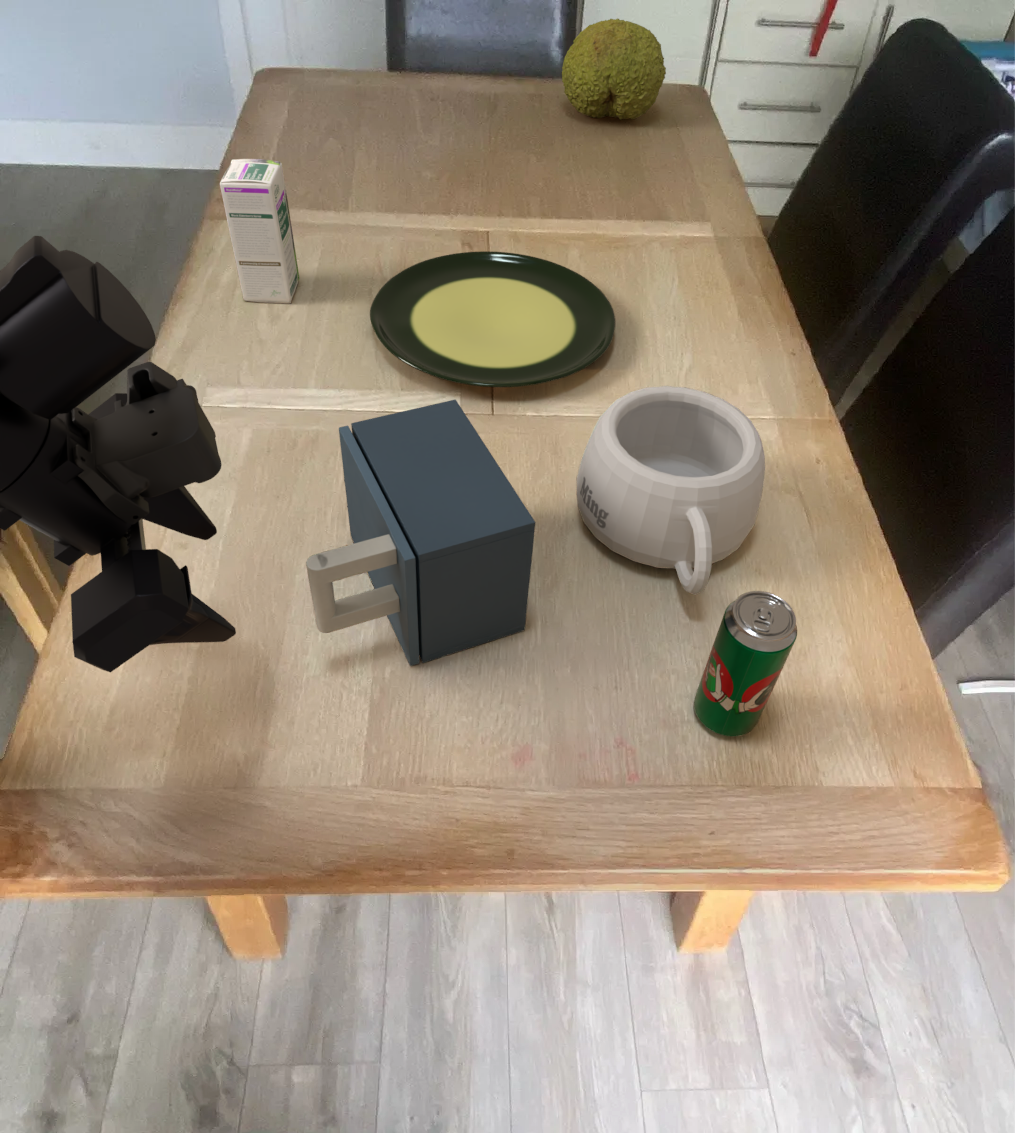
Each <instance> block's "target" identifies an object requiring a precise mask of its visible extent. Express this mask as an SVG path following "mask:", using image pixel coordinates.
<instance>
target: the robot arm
mask: <svg viewBox="0 0 1015 1133" xmlns="http://www.w3.org/2000/svg"><path fill="white" fill-rule="evenodd" d="M156 337H157V336H156V334H155V331H154V328H153V325H152V323H151V321H150V319H149V318H148V315H147V314H146V313H145V311H144V309H143V308H142V307H141V305H140V304H139V302H138V301H137V299H135V297H134V296H133V295H132V293H131V292H130V291H129V289H127V287H126V286H125V285H124V284H123V283H122V282H121V281H120V280H119V279H118V278H117V277H116V276H115V275H114V274H113V272H111V271H110V270H109V269H108V268H106V267H105V266H104V265H103V264H102V263H100V262H99V261H96V262H93V261H91V260H90V259H89V258H87V257H85V256H84V255H82V254H79V253H77V252H75V251H73V250H68V249H64V250H58V249H57V248H56V247H55V246H54V245H53V244H52V243H51V242H49V241H48V240H47V239H46V238H44V237H43V236H41V235H33V236H32V237H31V238H30V239H29V240H27V241H26V242H25V243H24V244H23V245H21V246H20V247H19V248H18V249H17V250H16V251H15V252H14V254H13V256H11V259H10V260H9V262H8V263H7V264H6V265H5V266H4V267H3V268H1V269H0V530H2V531H4V532H5V531H7V530H8V529H10V528H11V527H12V526H13V525H15V524H16V523H17V522H18V521H20V522H22V523H24V524H25V525H27V526H29V527H31V528H32V529H34V530H36V531H37V532H39V533H41V534H43V535H45V536H47V537H49V538H50V539H52V540H53V558H54V559H55V560H57V561H59V562H61V563H63V564H64V565H66V566H68V567H70V566H72V565H73V564H74V563H75V562H77V561H78V560H79V559H81V558H82V557H84V556H85V555H86V554H87V555H88V556H91V557H93V556H96V555H99V554H100V564H101V565H100V566H101V572H99V573H98V574H96V575H95V576H93V577H92V578H91V579H90V580H88V581H87V582H86V583H84V584H83V585H81V586H80V587H78V589H76V590H75V591H73V592H72V593H71V594H70V606H71V607H70V608H71V633H72V634H71V635H72V636H71V637H72V648H73V657H74V658H76V659H78V660H80V661H82V662H84V663H86V664H89V665H91V666H93V667H95V668H97V669H99V670H102V671H105V672H108V673H110V674H111V673H112V672H113V671H115V670H117V669H118V668H119V667H120V666H122V665H123V664H125V663H126V662H128V661H129V660H131V659H132V658H133V657H135V656H136V655H137V654H139V653H140V652H142V651H143V650H145V649H146V648H147V647H150V646H155V645H162V644H163V645H164V644H189V643H191V644H192V643H193V644H197V643H198V644H199V643H225V642H227V641H228V640H230V639H231V638H233V637H234V636H235V635H236V634H237V630H236V627H235V626H234V625H232V623H230V622H229V621H228V620H227V619H226V618H225V617H223V616H222V615H221V614H220V613H218V612H217V611H216V610H215V609H213V608H212V607H211V606H209V605H208V604H207V603H205V601H203V600H201V599H200V598H198V597H197V596H196V595H195V594H193V593H192V586H191V581H190V579H191V578H190V573H189V567H188V565H186V564H185V565H183V566H182V567H181V568H180V567H179V566H178V565H177V563H176V562H175V560H174V559H173V558H172V557H171V556H169V555H168V554H166V553H165V552H163V551H161V550H160V549H158V548H147V546H146V537H145V530H144V521H147V522H149V523H152V524H155V525H158V526H160V527H163V528H166V529H168V530H172V531H174V532H177V533H180V534H182V535H185V536H189V537H192V538H196V539H199V540H202V541H208V540H211V538H212V537H214V536H215V535H216V534H218V529H217V527H216V525H215V524H214V523H213V521H212V520H211V519H210V517H209V516H208V515H207V513H206V512H205V511H204V510H203V507H201V506H200V504H199V503H198V501H197V500H196V499H195V498H194V497H193V495H192V494H191V493H190V491H189V490H188V488H186V486H188V485H191V484H194V483H197V484H202V483H205V482H207V481H210V480H212V479H213V478H215V477H216V476H217V475H218V474H219V473H220V472H221V469H222V459H221V456H220V454H219V449H218V444H217V439H216V437H217V436H216V431H215V429H214V428H213V426H212V424H211V422H210V420H209V419H208V417H207V415H206V413H205V411H204V410H203V408H202V407H201V404H200V402H199V399H198V398H199V397H198V394H197V388H195V387H194V386H192V385H188V384H187V383H186V382H185V379H184V378H180V379H177V378H176V377H175V376H173V375H172V373H170V372H168V371H166V370H165V369H163V368H161V367H160V366H159V365H157V364H156V363H154V362H153V361H147V362H144V363H141V364H138V365H135V366H132V367H129V366H131V365H132V364H133V363H134V362H136V361H137V360H138V359H140V358H141V357H142V356H144V355H145V354H146V353H147V352H149V351H150V350H151V349H153V348H154V347H155V346H156V340H157V338H156ZM128 367H129V368H128ZM127 368H128V369H127ZM125 369H127V370H126V393H125V392H123V393H122V392H121V393H120V392H117V393H114V394H112V396H110V397H109V398H107V399H106V400H105V401H104V402H102V403H101V404H100V405H99V406H97V407H95V409H93V410H92V411H91V412H89V413H86V412H85V411H84V410H83V409H81V408H79V407H78V406H79V405H81V404H82V403H83V402H85V401H86V400H87V399H88V398H89V397H91V396H92V395H93V394H95V393H96V392H97V391H99V390H100V389H101V388H103V387H104V386H105V385H106V384H108V383H109V382H110V381H111V380H113V379H114V378H115V377H116V376H118V375H119V374H120V373H122V372H123V371H125Z"/></svg>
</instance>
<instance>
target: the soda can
mask: <svg viewBox="0 0 1015 1133" xmlns="http://www.w3.org/2000/svg"><path fill="white" fill-rule="evenodd" d="M797 637H798V626H797V616H796V614H795V611H794V610H793V607H792V606H791V605H790V604H789V603H788V602H787V601H786V600H784V599H783V598H782V597H780V596H779V595H776V594H774V593H772V592H768V591H764V590H749V591H747V592H744V593H741V594H740V595H739V596H738V597H737V598H736V599H734V600H733V601H732V602H731V603H729V605H727V607H726V609H725V610H724V613H723V616H722V618H721V622H720V624H719V627H718V629H717V633H716V636H715V639H714V641H713V644H712V647H711V650H710V653H709V655H708V658H707V661H706V664H705V666H704V670H703V672H702V676H701V678H700V681H699V684H698V687H697V689H696V693H695V695H694V698H693V709H694V713H695V714H696V717H697V718H698V720H699V721H700V722H701V723H702V724H703V725H704V726H705V728H707V729H708V730H709V731H711V732H713V733H716V734H719V735H720V736H725V737H732V738H733V737H741V736H745V735H747V734H749V733H750V732H751V731H753V730H754V729H755V728H756V727H757V726H758V723H759V721H760V719H761V716H762V715H763V712H764V710H765V708H766V706H767V703H768V702H769V700H770V697H771V695H772V692H773V691H774V688H775V686H776V684H777V681H778V680H779V677H780V675H781V673H782V671H783V669H784V667H785V665H786V662H787V659H788V657H789V656H790V654H791V651H792V649H793V647H794V645H795V642H796V640H797Z"/></svg>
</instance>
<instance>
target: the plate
mask: <svg viewBox="0 0 1015 1133" xmlns="http://www.w3.org/2000/svg"><path fill="white" fill-rule="evenodd" d="M369 319H370V323H371V327H372V329H373V332H374V333H375V336H376V337H377V339H378V341H379V342H380V343H381V344H382V345H383V347H384V348H385V349H386V350H387V351H388V352H390V354H391V355H393V356H394V357H396V358H397V359H398V360H399V361H401V362H402V363H405V364H406V365H408V366H409V367H412V368H413V369H416V370H418V371H420V372H422V373H424V374H427V375H429V376H433V377H435V378H438V379H441V380H445V381H447V382H452V383H457V384H461V385H467V386H474V387H483V388H484V387H486V388H517V387H527V386H534V385H540V384H545V383H549V382H554V381H557V380H560V379H564V378H566V377H569V376H572V375H574V374H576V373H579V372H580V371H582V370H584V369H586V368H587V367H590V366H591V365H592V364H593V363H595V362H596V361H597V360H598V359H600V358H601V357H602V356H603V354H605V353H606V351H607V350H608V348H609V347H610V346H611V344H612V341H613V339H614V335H615V331H616V314H615V310H614V308H613V305H612V304H611V302H610V300H609V299H608V298H607V296H606V295H605V294H604V292H602V290H601V289H600V288H599V287H598V286H597V285H595V284H594V283H593V282H592V281H590V280H589V279H588V278H587V277H585V276H584V275H581V274H580V273H578V272H576V271H574V270H572V269H570V268H569V267H566V266H563V265H561V264H558V263H556V262H553V261H550V260H547V259H544V258H541V257H536V256H531V255H527V254H521V253H514V252H505V251H491V250H490V251H485V250H484V251H483V250H482V251H466V252H456V253H451V254H445V255H439V256H436V257H432V258H428V259H426V260H422V261H420V262H418V263H415V264H412V265H410V266H409V267H406V268H405V269H402V270H401V271H399V272H398V273H397V274H395V275H394V276H392V277H391V278H390V279H389V280H387V281H386V282H385V283H384V284H383V285H382V287H381V288H380V289H379V291H377V293H376V295H374V299H373V300H372V303H371V305H370V309H369Z"/></svg>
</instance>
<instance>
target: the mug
mask: <svg viewBox="0 0 1015 1133" xmlns="http://www.w3.org/2000/svg"><path fill="white" fill-rule="evenodd" d="M765 474H766V455H765V451H764V446H763V441H762V439H761V436H760V433H759V431H758V430H757V428H756V426H755V424H754V423H753V422H752V420H751V419H750V418H749V416H747V415H746V414H745V413H744V412H743V411H742V410H741V409H739V408H738V407H737V406H735V405H734V404H732V403H730V402H729V401H727V400H725V399H724V398H721V397H719V396H718V395H717V396H716V395H714V394H712V393H709V392H706V391H703V390H699V389H695V388H690V387H686V386H674V385H659V386H648V387H644V388H639V389H636V390H633V391H630V392H628V393H626V394H624V395H622V396H620V397H619V398H617V399H615V400H614V401H613V403H611V404H610V405H609V406H608V407H607V408H606V409H605V410H604V412H603V413H601V414H600V416H599V417H598V418H597V421H596V423H595V425H594V427H593V430H592V431H591V434H590V436H589V437H588V441H587V443H586V445H585V448H584V451H583V454H582V456H581V459H580V462H579V466H578V470H577V475H576V501H577V508H578V510H579V514H580V515H581V516H580V517H581V519H582V522H583V523H584V525H585V526H586V527H587V528H588V530H589V531H590V532H591V534H592V535H593V537H594V538H595V539H597V540H598V541H599V542H600V543H602V544H603V545H604V546H605V547H607V548H608V549H609V550H610V551H612V552H613V553H615V554H618V555H620V556H622V557H624V558H626V559H629V561H630V560H631V561H633V562H635V563H639V564H643V565H646V566H651V567H654V568H661V569H675V571H676V574H677V577H678V580H679V582H680V585H681V587H682V588H683V590H684V591H685V592H687V593H690V594H691V595H698V594H700V593H702V592H704V591H705V589H706V587H707V585H708V583H709V580H710V576H711V572H712V564H714V563H717V562H720V561H722V560H724V559H726V558H727V557H729V556H730V555H731V554H733V553H734V552H735V551H737V550H738V549H739V548H740V547H741V546H742V544H743V542H744V541H745V539H746V538H747V537H748V535H749V534H750V532H751V531H752V529H753V528H754V526H755V525H756V521H757V518H758V514H759V509H760V506H761V502H762V495H763V490H764V484H765Z"/></svg>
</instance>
